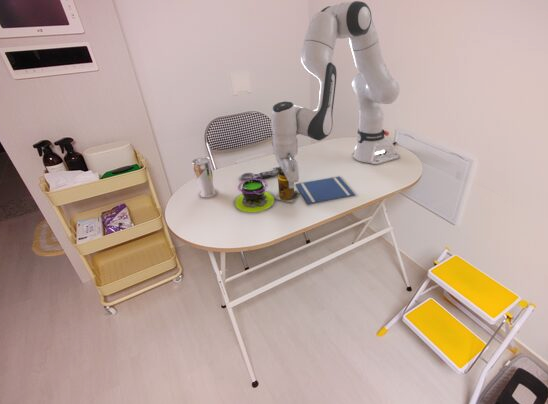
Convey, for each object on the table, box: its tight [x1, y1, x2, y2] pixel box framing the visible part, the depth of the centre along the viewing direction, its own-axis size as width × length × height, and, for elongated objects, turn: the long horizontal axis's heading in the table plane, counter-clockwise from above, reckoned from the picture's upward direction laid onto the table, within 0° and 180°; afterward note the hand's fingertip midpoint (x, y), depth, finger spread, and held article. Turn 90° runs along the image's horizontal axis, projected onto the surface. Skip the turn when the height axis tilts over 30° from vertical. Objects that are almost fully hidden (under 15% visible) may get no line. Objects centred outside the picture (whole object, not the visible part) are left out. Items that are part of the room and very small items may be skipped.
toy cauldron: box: [235, 173, 275, 213], centre depth 116 cm, size 15×15×11 cm
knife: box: [240, 166, 281, 181], centre depth 139 cm, size 28×2×10 cm
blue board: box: [295, 176, 356, 205], centre depth 126 cm, size 20×16×1 cm
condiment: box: [275, 169, 301, 203], centre depth 119 cm, size 7×8×12 cm
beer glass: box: [191, 156, 217, 199], centre depth 119 cm, size 7×7×15 cm
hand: (287, 181), depth 118 cm, fingers open, 8 cm apart
